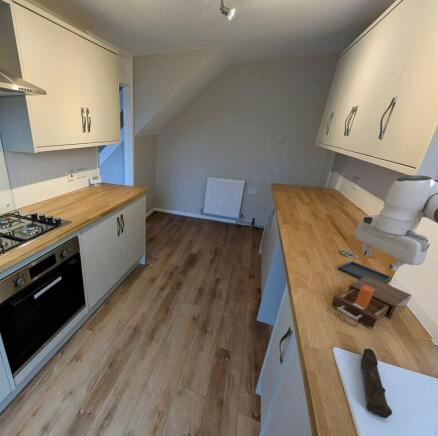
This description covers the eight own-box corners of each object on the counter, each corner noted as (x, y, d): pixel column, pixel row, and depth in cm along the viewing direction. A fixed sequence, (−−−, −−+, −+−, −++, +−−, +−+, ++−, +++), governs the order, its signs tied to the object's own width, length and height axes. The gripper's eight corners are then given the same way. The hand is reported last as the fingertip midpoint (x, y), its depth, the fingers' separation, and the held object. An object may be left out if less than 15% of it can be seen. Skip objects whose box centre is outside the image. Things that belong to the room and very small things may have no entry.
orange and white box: (367, 308, 85) (375, 289, 82) (359, 313, 83) (367, 293, 80) (357, 303, 88) (365, 284, 85) (349, 308, 85) (357, 289, 82)
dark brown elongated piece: (387, 423, 54) (395, 409, 52) (364, 411, 56) (371, 398, 54) (376, 361, 68) (382, 350, 66) (358, 354, 70) (363, 342, 69)
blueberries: (340, 250, 132) (342, 247, 131) (359, 255, 126) (360, 252, 125) (337, 253, 128) (338, 250, 127) (356, 259, 122) (357, 256, 121)
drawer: (366, 332, 77) (370, 323, 75) (325, 308, 87) (327, 299, 86) (388, 315, 84) (393, 307, 83) (348, 295, 94) (351, 287, 93)
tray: (390, 280, 105) (392, 277, 105) (377, 288, 100) (379, 284, 100) (350, 264, 118) (351, 261, 117) (337, 270, 113) (338, 266, 112)
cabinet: (389, 319, 84) (396, 306, 82) (345, 296, 95) (350, 284, 93) (405, 306, 90) (411, 294, 88) (362, 286, 101) (366, 275, 99)
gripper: (442, 239, 68) (421, 279, 73) (373, 214, 87) (360, 248, 92) (421, 239, 67) (402, 280, 72) (357, 214, 86) (345, 248, 91)
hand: (378, 262), depth 82 cm, fingers open, 8 cm apart
